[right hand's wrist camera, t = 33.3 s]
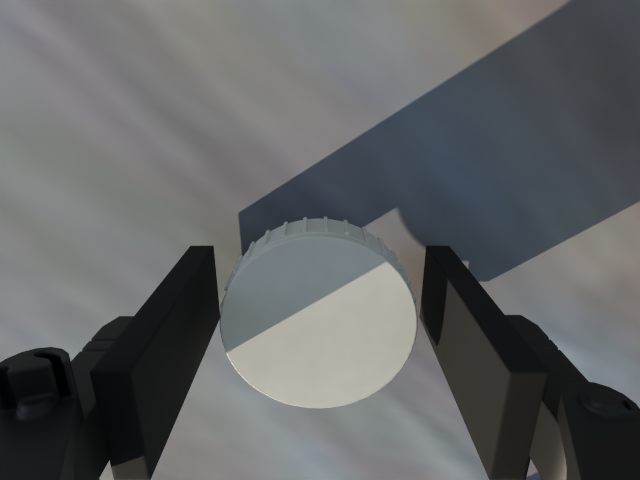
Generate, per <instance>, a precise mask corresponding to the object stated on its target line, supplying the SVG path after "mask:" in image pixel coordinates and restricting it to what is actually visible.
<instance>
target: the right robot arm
mask: <svg viewBox="0 0 640 480" xmlns="http://www.w3.org/2000/svg"><path fill="white" fill-rule="evenodd" d="M219 319H220V311H219V300H218V289H217V279H216V268H215V258H214V247H213V246H190V247H189V249H188V250H187V251H186V252H185V254H184V255H183V256H182V257H181V259H180V260H179V261H178V262H177V264H176V265H175V266H174V267H173V269H172V270H171V271H170V272H169V274H168V275H167V276H166V277H165V279H164V280H163V281H162V282H161V284H160V285H159V286H158V287H157V289H156V290H155V291H154V292H153V294H152V295H151V296H150V297H149V299H148V300H147V301H146V302H145V303H144V305H143V306H142V307H141V308H140V310H139V311H138V312H137V313H136V315H135V316H119V317H118V318H116V319H114V320H113V321H111V322H109V323H108V324H106V325H105V326H103V327H102V328H101V329H100V330H99V331H98V332H97V333H96V334H95V336H94V337H93V338H92V340H91V341H89V342H88V343H87V344H86V346H85V347H84V348H83V349H82V352H79V353H78V355H77V356H76V357H75V358H74V359H73V360H72V361H71V362H70V357H69V353H67V352H66V351H64V350H63V349H60V348H53V347H47V348H37V349H33V350H29V351H25V352H21V353H19V354H17V355H14V356H12V357H10V358H7V359H5V360H4V361H2V362H1V363H0V480H100V479H99V477H100V476H101V474H102V472H103V470H104V469H105V467H106V465H107V463H108V461H109V460H110V464H111V468H112V472H113V477H114V480H150V479H151V477H152V475H153V472H154V470H155V468H156V466H157V463H158V461H159V459H160V456H161V454H162V452H163V449H164V447H165V445H166V442H167V440H168V438H169V435H170V433H171V431H172V428H173V426H174V424H175V421H176V419H177V417H178V414H179V412H180V410H181V407H182V405H183V403H184V400H185V398H186V396H187V393H188V391H189V389H190V386H191V384H192V382H193V379H194V377H195V375H196V372H197V370H198V368H199V365H200V363H201V361H202V358H203V356H204V354H205V351H206V349H207V347H208V344H209V342H210V340H211V337H212V335H213V333H214V330H215V328H216V326H217V323H218V321H219ZM420 319H421V322H422V324H423V326H424V329H425V331H426V333H427V335H428V338H429V340H430V342H431V345H432V347H433V349H434V352H435V354H436V356H437V359H438V361H439V363H440V366H441V368H442V370H443V373H444V375H445V377H446V380H447V382H448V384H449V387H450V389H451V391H452V394H453V396H454V398H455V401H456V403H457V405H458V408H459V410H460V412H461V415H462V417H463V419H464V422H465V424H466V426H467V429H468V431H469V433H470V436H471V438H472V440H473V443H474V445H475V447H476V450H477V452H478V454H479V457H480V459H481V461H482V464H483V466H484V468H485V471H486V473H487V475H488V478H489V480H526V476H527V472H528V467H529V463H530V458H531V460H532V461H533V463H534V465H535V467H536V468H537V470H538V472H539V474H540V476H541V479H540V480H640V409H639V407H638V406H637V405H636V403H634V402H633V401H632V400H630V399H629V398H628V397H626V396H625V395H624V394H622V393H620V392H618V391H616V390H614V389H612V388H610V387H607V386H604V385H600V384H597V383H593V382H588V380H587V379H586V378H585V377H584V376H583V375H582V374H581V373H580V372H579V370H578V369H577V368H576V367H575V366H574V365H573V364H572V363H571V362H570V361H569V359H568V358H567V357H566V356H565V355H564V354H563V353H562V352H561V351H560V350H558V347H557V346H556V345H555V344H554V343H553V342H552V341H551V340H549V337H548V336H547V335H546V334H545V333H544V332H543V331H542V330H541V329H540V327H539V326H538V325H536V324H535V323H533V322H531V321H530V320H528V319H526V318H525V317H523V316H521V315H504V314H503V312H502V311H501V310H500V309H499V307H498V306H497V305H496V304H495V303H494V301H493V300H492V299H491V298H490V296H489V295H488V294H487V293H486V291H485V290H484V289H483V288H482V286H481V285H480V284H479V283H478V281H477V280H476V279H475V278H474V276H473V275H472V274H471V273H470V271H469V270H468V269H467V268H466V266H465V265H464V264H463V263H462V261H461V260H460V259H459V258H458V256H457V255H456V254H455V253H454V251H453V250H452V249H451V248H450V246H426V256H425V266H424V277H423V287H422V298H421V309H420Z"/></svg>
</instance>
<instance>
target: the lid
mask: <svg viewBox="0 0 640 480" xmlns="http://www.w3.org/2000/svg"><path fill="white" fill-rule="evenodd" d="M409 284H411V283H410V281H409V279H408V277H407V274H406V272H405V270H404V268H403V266H400V263H399V261H398V259H397V257H396V255H395V253H394V251H393V250H392V251H389V249H388V248H387V247H386V246H385V245H384V243H383V241H382V239H381V238H380V237H379V238H378V239H377V238H376V237H375V236H373V235H372V234H370V233H369V232H367V230H366V228H365V227H362V228H359V227H357V226H355V225H352V224H349V223H348V221H347V220H344V221H338V220H332V219H328V218H327V217H324V219H319V218H317V219H307V217H304V218H303V220H300V221H295V222H291V223H288V222H284V224H283V225H282V226H280V227H278V228H276V229H274V230H272V231H270V230H267V231H266V233H265V235H264V236H263V237H261V238H260V239H259V240H258V241H257V242H254V241H253V242H252V243H251V244H250V247H249V249H248V251H247V252H246V253H245V255H244V256H242V255H241V256H240V257H239V259H238V262H237V264H236V266H235V268H234V271H232V273H231V275H230V278H229V280H228V282H227V284H226V287H225V289H224V290H226V291H227V292H226V294H225V296H224V299H223V301H222V303H221V307H220V308H221V314H220V332H221V337H222V342H223V345H224V348H225V351H226V353H227V355H228V357H229V359H230V361H231V363H232V364H233V366H234V367H235V369H236V370H237V372H238V373H239V374H240V375H241V376H242V377H243V378H244V379H245V380H246V381H247V382H248V383H249V384H250V385H252V386H253V387H254V388H255V389H257V390H258V391H260V392H261V393H263V394H265V395H267V396H269V397H271V398H273V399H275V400H278V401H280V402H283V403H286V404H290V405H294V406H299V407H306V408H331V407H337V406H343V405H347V404H350V403H354V402H356V401H359V400H361V399H364V398H366V397H368V396H370V395H372V394H373V393H375V392H377V391H378V390H380V389H381V388H382V387H384V386H385V385H386V384H388V383H389V382H390V381H391V380H392V379H393V378H394V377H395V376H396V375H397V374H398V372H399V371H400V370H401V369H402V367H403V366H404V364H405V363H406V361H407V359H408V357H409V355H410V353H411V351H412V349H413V345H414V342H415V339H416V333H417V310H416V304H415V302H416V299H415V296H414V294H413V292H412V290H411V288H410V286H409Z"/></svg>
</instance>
